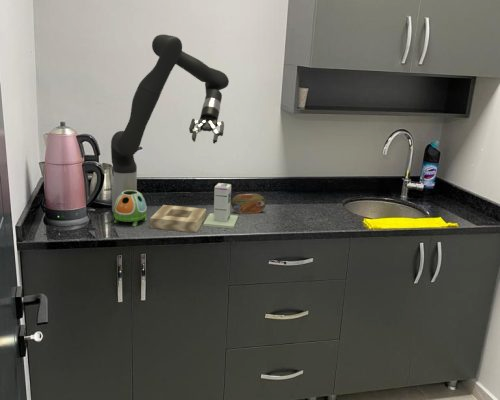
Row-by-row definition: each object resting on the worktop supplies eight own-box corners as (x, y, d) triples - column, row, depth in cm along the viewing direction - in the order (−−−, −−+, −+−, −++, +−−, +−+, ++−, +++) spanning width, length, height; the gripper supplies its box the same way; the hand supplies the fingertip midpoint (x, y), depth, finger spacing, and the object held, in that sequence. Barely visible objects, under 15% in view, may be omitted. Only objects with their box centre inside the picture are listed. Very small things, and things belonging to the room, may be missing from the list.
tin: (231, 214, 215) (232, 195, 213) (230, 211, 218) (231, 193, 216) (265, 213, 219) (266, 194, 217) (263, 210, 222) (264, 192, 220)
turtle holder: (155, 214, 208) (155, 186, 205) (138, 228, 191) (138, 198, 188) (126, 211, 210) (126, 183, 207) (108, 224, 193) (107, 195, 189)
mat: (203, 225, 198) (203, 223, 198) (210, 215, 211) (210, 213, 211) (233, 228, 197) (233, 226, 197) (238, 217, 210) (238, 215, 210)
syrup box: (227, 222, 201) (229, 187, 197) (213, 220, 202) (214, 185, 198) (230, 218, 206) (232, 183, 202) (216, 216, 207) (217, 182, 203)
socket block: (150, 228, 192) (150, 218, 191) (163, 214, 209) (163, 204, 208) (196, 232, 190) (196, 222, 189) (205, 218, 208) (206, 208, 206)
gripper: (193, 104, 214) (185, 134, 206) (226, 106, 212) (219, 137, 205) (195, 115, 220) (188, 145, 213) (227, 118, 219) (221, 148, 211)
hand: (203, 141), depth 209 cm, fingers open, 8 cm apart
